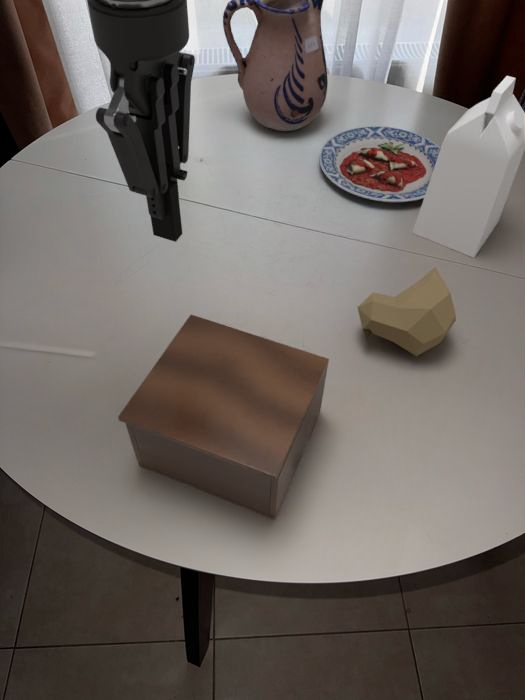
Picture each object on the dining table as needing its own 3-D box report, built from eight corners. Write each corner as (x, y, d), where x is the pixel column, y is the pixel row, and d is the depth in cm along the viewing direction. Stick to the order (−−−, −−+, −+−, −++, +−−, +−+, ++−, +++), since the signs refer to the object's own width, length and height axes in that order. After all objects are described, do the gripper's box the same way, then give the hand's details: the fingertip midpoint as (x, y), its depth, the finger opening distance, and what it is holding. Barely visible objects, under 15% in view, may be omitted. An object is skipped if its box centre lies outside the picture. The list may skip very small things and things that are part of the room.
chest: (275, 520, 69) (278, 478, 61) (138, 465, 73) (123, 419, 65) (320, 412, 79) (328, 363, 70) (197, 369, 83) (191, 318, 75)
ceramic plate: (411, 228, 104) (415, 215, 102) (293, 177, 113) (294, 164, 111) (470, 163, 117) (474, 150, 115) (359, 123, 127) (361, 109, 124)
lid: (275, 481, 59) (276, 477, 59) (118, 421, 64) (117, 416, 63) (328, 362, 70) (329, 358, 70) (191, 318, 75) (190, 314, 74)
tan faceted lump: (458, 324, 90) (414, 264, 90) (491, 310, 79) (440, 243, 80) (382, 379, 88) (338, 318, 89) (405, 374, 77) (354, 304, 78)
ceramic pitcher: (334, 136, 123) (350, 8, 104) (238, 150, 119) (235, 19, 100) (309, 97, 134) (318, -27, 114) (219, 108, 130) (214, -18, 111)
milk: (439, 199, 109) (481, 58, 89) (498, 221, 105) (556, 79, 85) (412, 232, 103) (451, 89, 83) (474, 258, 99) (530, 113, 79)
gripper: (134, 32, 39) (169, 283, 57) (218, -31, 47) (225, 209, 65) (41, 11, 41) (104, 262, 59) (137, -46, 48) (166, 192, 67)
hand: (167, 234), depth 62 cm, fingers closed
